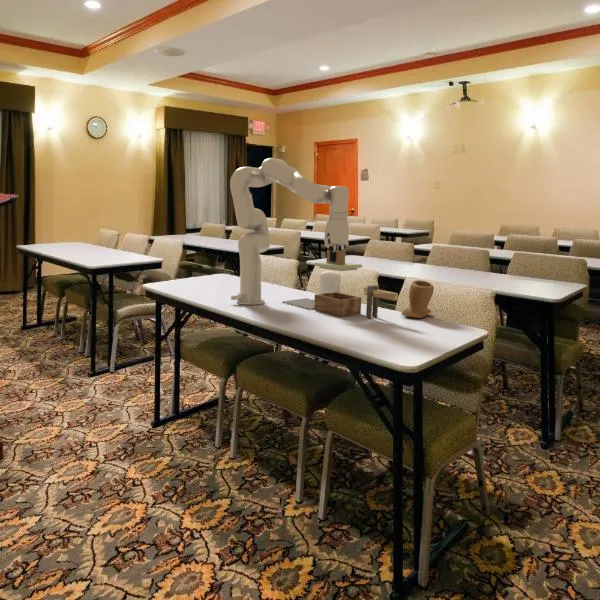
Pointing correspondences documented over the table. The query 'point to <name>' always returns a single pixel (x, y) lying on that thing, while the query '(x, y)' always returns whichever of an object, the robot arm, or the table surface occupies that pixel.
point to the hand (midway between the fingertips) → (335, 261)
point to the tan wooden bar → (383, 294)
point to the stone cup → (419, 299)
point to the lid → (338, 263)
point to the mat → (302, 303)
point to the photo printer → (329, 282)
